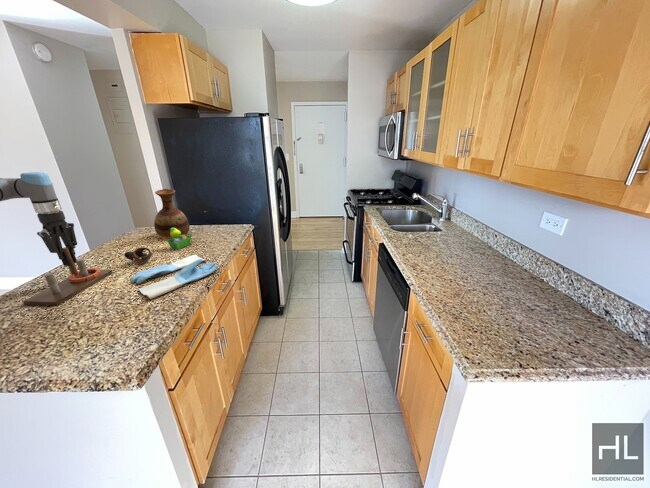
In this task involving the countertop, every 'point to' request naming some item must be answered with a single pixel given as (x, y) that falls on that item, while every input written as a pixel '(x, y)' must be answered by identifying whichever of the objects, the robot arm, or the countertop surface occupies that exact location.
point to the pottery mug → (138, 255)
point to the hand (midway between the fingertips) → (70, 263)
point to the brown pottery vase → (169, 215)
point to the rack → (64, 287)
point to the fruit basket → (178, 239)
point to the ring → (76, 273)
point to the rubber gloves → (171, 283)
